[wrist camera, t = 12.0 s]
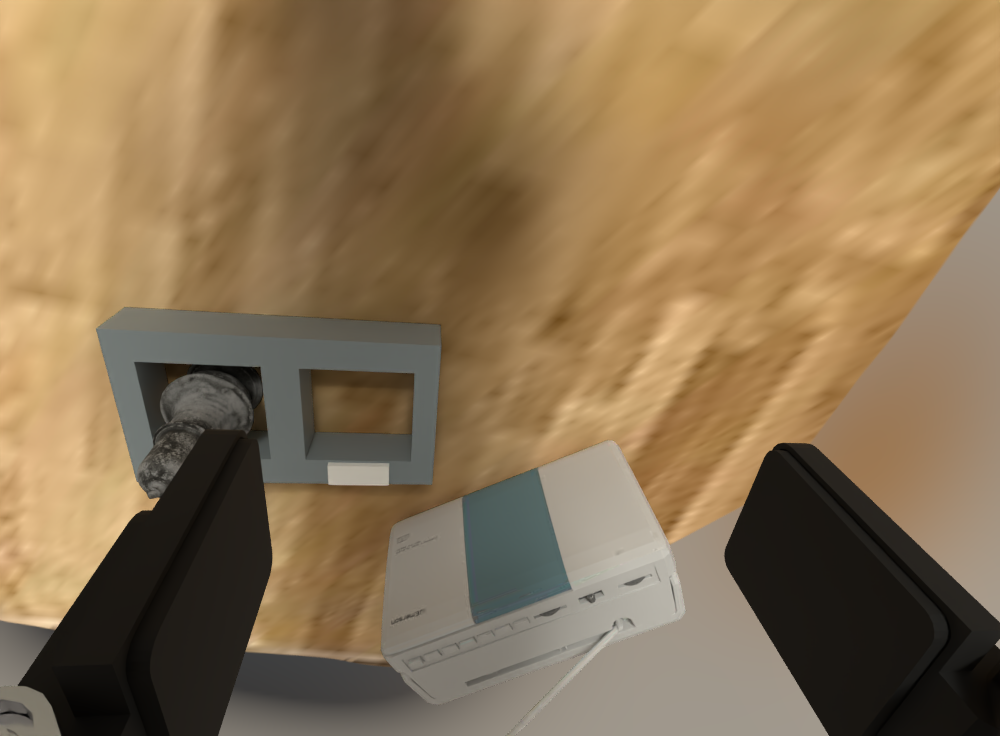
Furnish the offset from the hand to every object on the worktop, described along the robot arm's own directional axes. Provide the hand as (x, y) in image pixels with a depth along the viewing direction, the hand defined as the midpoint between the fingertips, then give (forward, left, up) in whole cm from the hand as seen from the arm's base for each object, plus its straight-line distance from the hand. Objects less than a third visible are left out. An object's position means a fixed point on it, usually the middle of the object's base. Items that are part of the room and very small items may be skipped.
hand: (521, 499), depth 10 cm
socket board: (+15, -11, -28) cm, 34 cm away
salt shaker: (+15, -16, -28) cm, 36 cm away
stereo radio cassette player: (+26, +7, -29) cm, 39 cm away
